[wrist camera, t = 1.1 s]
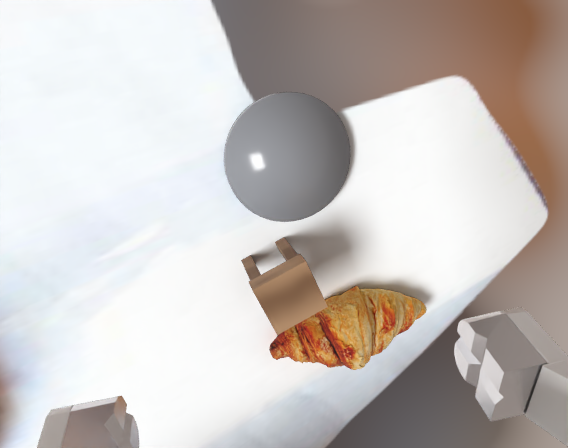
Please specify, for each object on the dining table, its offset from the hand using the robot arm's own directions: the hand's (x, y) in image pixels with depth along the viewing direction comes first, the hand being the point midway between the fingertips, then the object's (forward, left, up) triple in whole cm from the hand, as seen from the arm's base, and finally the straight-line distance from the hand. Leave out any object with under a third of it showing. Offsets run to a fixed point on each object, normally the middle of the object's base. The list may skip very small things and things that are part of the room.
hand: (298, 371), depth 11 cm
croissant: (-29, -7, -39) cm, 48 cm away
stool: (-17, -2, -38) cm, 42 cm away
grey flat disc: (-6, -9, -38) cm, 39 cm away
